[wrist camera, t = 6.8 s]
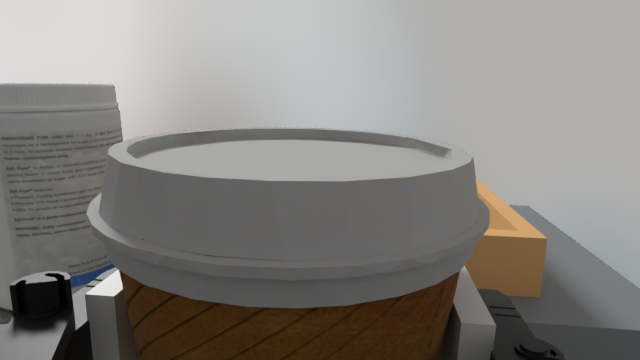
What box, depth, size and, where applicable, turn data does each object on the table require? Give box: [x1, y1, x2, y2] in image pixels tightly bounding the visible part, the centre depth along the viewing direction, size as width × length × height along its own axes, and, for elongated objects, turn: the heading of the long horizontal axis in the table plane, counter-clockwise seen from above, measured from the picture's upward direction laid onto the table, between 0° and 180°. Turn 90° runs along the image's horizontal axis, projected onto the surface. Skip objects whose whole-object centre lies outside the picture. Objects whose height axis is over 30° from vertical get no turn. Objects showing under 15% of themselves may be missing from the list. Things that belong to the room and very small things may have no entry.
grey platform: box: [464, 179, 640, 360], centre depth 29 cm, size 30×20×8 cm, turn 84°
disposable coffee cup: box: [86, 127, 490, 360], centre depth 12 cm, size 10×10×12 cm
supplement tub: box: [0, 83, 123, 311], centre depth 31 cm, size 10×10×15 cm
